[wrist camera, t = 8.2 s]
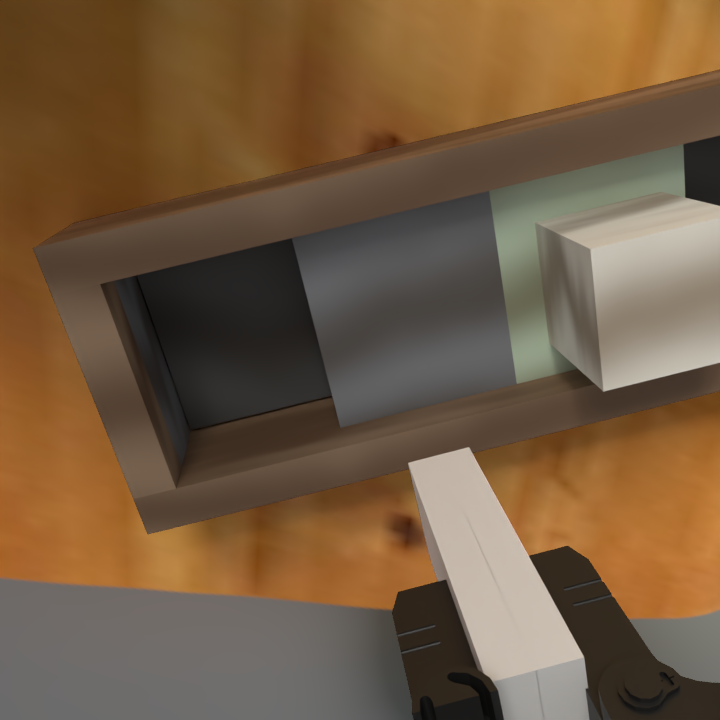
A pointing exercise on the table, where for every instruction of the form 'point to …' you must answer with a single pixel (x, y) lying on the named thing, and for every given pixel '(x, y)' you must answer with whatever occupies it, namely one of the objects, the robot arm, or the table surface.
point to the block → (633, 287)
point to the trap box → (362, 305)
